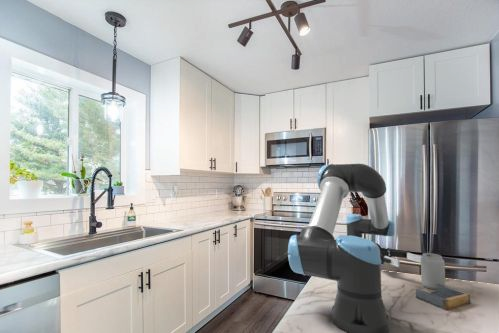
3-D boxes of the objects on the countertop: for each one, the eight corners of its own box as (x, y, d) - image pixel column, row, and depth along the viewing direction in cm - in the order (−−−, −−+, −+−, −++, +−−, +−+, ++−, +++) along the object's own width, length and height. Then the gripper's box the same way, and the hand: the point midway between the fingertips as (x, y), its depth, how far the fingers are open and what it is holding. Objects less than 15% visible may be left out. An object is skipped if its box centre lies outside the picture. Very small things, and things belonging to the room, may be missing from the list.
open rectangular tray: (446, 310, 83) (446, 300, 83) (415, 297, 92) (415, 288, 93) (470, 303, 88) (470, 294, 88) (438, 292, 97) (438, 283, 97)
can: (432, 282, 106) (431, 251, 107) (450, 289, 99) (449, 256, 100) (416, 284, 104) (415, 252, 105) (434, 292, 97) (433, 258, 98)
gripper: (388, 254, 135) (431, 267, 115) (349, 260, 125) (388, 275, 106) (388, 239, 135) (430, 249, 116) (349, 243, 126) (388, 255, 106)
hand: (410, 261), depth 111 cm, fingers open, 13 cm apart
